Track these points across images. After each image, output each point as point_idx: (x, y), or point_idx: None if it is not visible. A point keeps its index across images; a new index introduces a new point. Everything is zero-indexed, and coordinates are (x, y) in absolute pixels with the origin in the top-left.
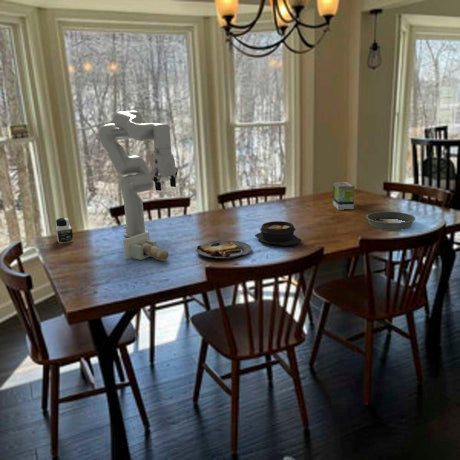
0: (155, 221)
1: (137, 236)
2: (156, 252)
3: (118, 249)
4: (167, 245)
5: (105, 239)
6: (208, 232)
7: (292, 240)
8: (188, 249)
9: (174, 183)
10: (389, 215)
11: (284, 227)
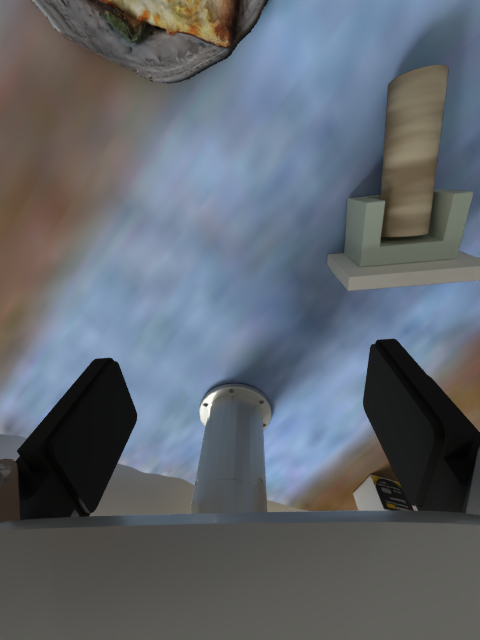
0: (122, 454)
1: (419, 270)
2: (443, 109)
3: (368, 346)
4: (250, 250)
5: (316, 435)
6: (43, 243)
7: None
8: (233, 131)
9: (94, 392)
10: None
11: None
